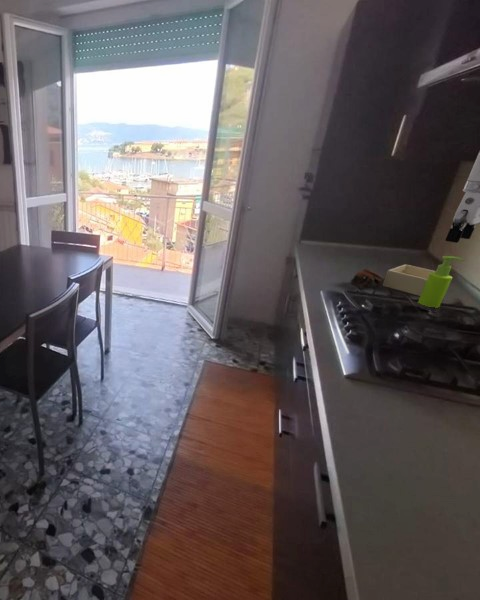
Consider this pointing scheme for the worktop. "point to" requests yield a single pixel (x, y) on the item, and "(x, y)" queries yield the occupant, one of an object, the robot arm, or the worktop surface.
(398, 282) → the open rectangular box
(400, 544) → the worktop surface
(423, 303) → the soap dispenser
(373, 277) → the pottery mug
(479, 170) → the robot arm
